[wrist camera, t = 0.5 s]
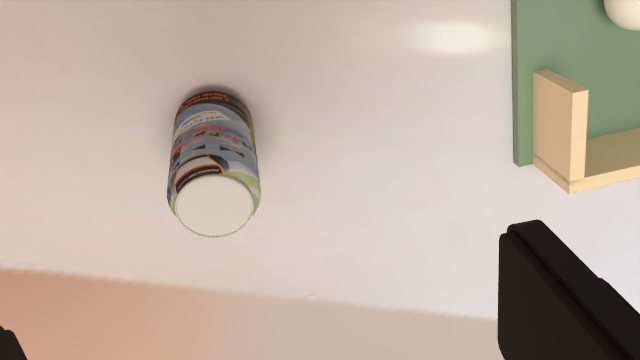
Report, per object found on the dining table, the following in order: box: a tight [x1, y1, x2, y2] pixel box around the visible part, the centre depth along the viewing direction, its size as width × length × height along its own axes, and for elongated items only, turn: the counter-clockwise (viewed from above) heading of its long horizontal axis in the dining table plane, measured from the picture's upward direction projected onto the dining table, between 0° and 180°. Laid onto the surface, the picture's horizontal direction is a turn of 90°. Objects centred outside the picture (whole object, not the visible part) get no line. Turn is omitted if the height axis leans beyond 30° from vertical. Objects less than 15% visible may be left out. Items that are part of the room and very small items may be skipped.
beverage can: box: [167, 91, 261, 238], centre depth 40 cm, size 6×7×12 cm
